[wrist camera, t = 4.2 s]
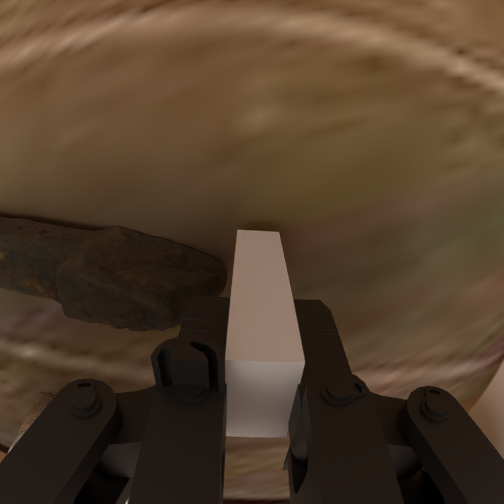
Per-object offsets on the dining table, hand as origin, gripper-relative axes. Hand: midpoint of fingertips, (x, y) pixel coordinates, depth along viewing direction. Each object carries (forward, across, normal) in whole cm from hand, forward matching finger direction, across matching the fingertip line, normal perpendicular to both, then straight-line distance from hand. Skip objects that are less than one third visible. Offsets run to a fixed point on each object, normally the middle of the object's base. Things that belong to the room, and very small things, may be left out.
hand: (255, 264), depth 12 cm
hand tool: (+2, +11, 0) cm, 11 cm away
